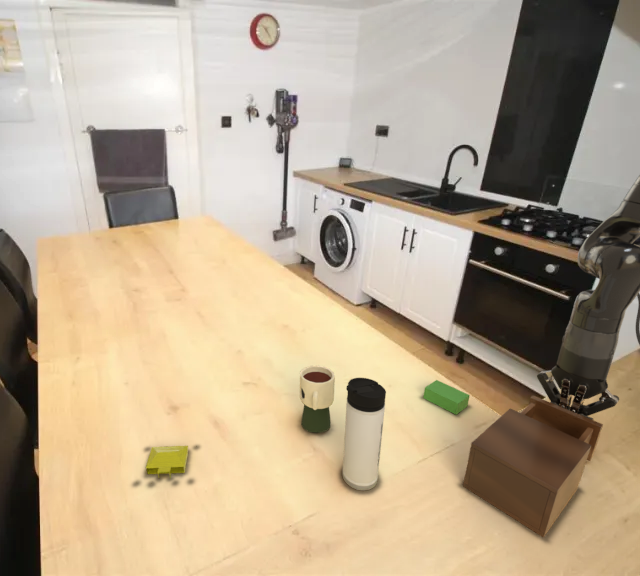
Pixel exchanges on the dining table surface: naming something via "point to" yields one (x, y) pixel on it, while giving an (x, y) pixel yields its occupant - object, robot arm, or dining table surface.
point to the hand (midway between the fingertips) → (565, 424)
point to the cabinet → (526, 469)
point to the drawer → (565, 421)
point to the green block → (446, 396)
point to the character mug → (316, 397)
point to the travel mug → (363, 433)
